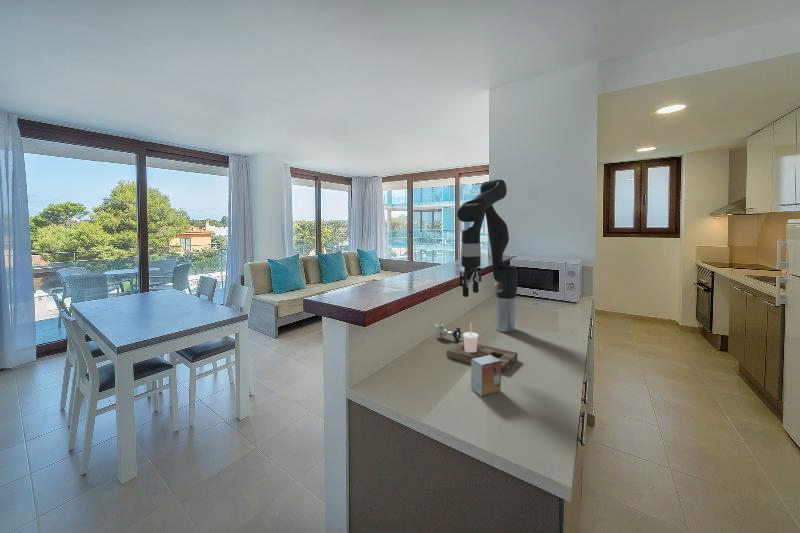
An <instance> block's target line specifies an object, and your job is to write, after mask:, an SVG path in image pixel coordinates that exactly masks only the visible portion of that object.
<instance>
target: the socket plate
mask: <svg viewBox="0 0 800 533" xmlns="http://www.w3.org/2000/svg"><path fill="white" fill-rule="evenodd" d="M518 354H519V353H518V352H516V351H511V350H506V349H503V348H498V347H494V346H489V345H486V344H482V343H478V342H477V351H476V352H466V351H465V349H464V339H463V340H461V341H460V342H458V343H457V344H455V345H453V346H451V347H449V348H447V349H446V358H449V359H453V360H457V361H459V362H463V363H467V364H470V365H471V359H474V358H479V357H484V356H488V355H492V356H494V357H495V358H497V359H499V360H501V374H505V373H506V372H507V370H509V369H510V368H511V367H512V366H513V365H514V364H515V363H516V362H517V361H518V360H519V359H518V356H519V355H518Z"/></svg>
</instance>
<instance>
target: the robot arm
mask: <svg viewBox="0 0 800 533" xmlns="http://www.w3.org/2000/svg"><path fill="white" fill-rule="evenodd" d="M507 190H508V189H507V185H506V182H505V180H503V179H494V180H493V179H492V180H488V181H483V182H481V184H480V190H479V191H480V193H479V194H478V195H476V196H475V197H473V199H471V200H467V201H465V202H464V203H462V204H460V205H459V206H458V208H457V212H456V217H457V219H458V220H459V221H460V222H463V223H473V224H472V226H470V227H467V228H464V229H462V231H461V249H460V250H461V251H460V252H461V254H460V255H461V256H460V257H461V258H460V259H461V260H460V261H461V262H460V263H461V267H462V268H464V270H460V271H459V281H458V282H459V284H458V285H459V287H462V297H465V298H468V297H469V291H470V288H469V287H470V285H471V283H472V293H473V294H478V293H479V285H480V282H482V267H481V265H482V263H481V260H482V259H481V257H482V256H481V254H482V253H481V252H482V251H481V250H482V248H481V231H482V227H483V226H482V225H483V223H484V219H486V228H487V233H488V234H487V235H488V239H489V245H490V251H491V262H492V274H493V279H494V281H495V282H496V283H500V284H505V286H504V288H502V289H498V290H497V291H496V298H495V300H496V301H495V302H496V303H495V304H496V307H495V309H496V310H495V312H496V313H495V330H496V331H498V332H501V333H513V332H515V331H516V305H517V304H516V302H517V301H516V300H517V299H516V297H517V292H518V284H519V283H518V282H519V271H518V270H519V269H518V268H517V267H516V266H515V265H509V264H504V252H505V250H506V249H507V247H508V244H509V241H510V236H509V229H508V224H507V223H506V222H505V221H504V219H503V218H502V217H501V216H500V215H499V214H498V213H497V211H496V209H495V208H494V204H496V203H497V202H499V201H501V200H504V198H506V196H507V192H508V191H507Z"/></svg>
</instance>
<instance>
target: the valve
mask: <svg viewBox="0 0 800 533" xmlns="http://www.w3.org/2000/svg"><path fill="white" fill-rule="evenodd" d="M461 330H462V329H461V328H460V327H456V330H454V331H450V330H449V331H448V329H446V328H444V324H443V323H436V324H435V330H434V333H435V339H437V338H443V339H444V336H445V337H447V336H452V337H453V338H454V339H453V340H454V342H458V343H459V341H460V339H461V338H462V337H461V335H462V331H461Z"/></svg>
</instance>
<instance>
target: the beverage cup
mask: <svg viewBox="0 0 800 533" xmlns="http://www.w3.org/2000/svg"><path fill="white" fill-rule="evenodd" d="M462 334H463V336H462V337H463V340H464V349H465V351H466V352H476V351H477V343H478V338H479V334H478V333H477V332H473V331H472V322H470V323H469V331H468V332H467V331H466V332H463V333H462Z"/></svg>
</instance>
